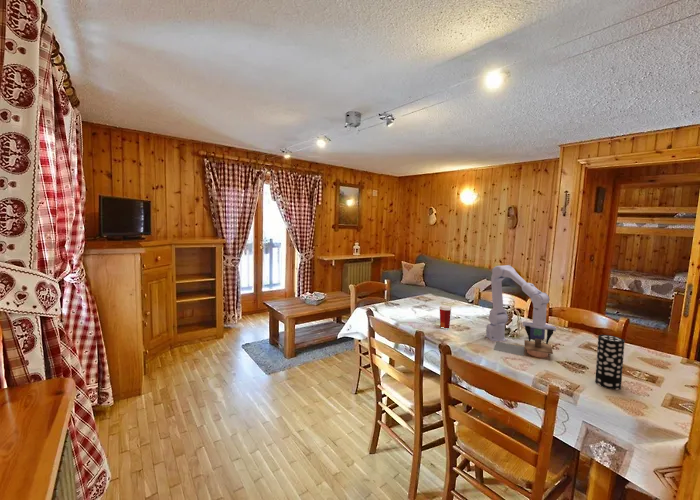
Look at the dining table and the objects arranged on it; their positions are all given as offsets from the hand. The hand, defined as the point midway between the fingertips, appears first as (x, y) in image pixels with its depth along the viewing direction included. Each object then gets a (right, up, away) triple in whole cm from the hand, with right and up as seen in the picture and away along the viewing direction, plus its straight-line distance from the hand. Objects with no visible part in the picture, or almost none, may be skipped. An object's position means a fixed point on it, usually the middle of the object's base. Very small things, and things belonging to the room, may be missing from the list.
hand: (538, 342), depth 157 cm
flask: (+13, -5, +23) cm, 27 cm away
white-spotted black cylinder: (+11, -9, -29) cm, 33 cm away
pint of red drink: (-35, -4, +42) cm, 55 cm away
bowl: (0, -7, 0) cm, 7 cm away
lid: (0, -3, 0) cm, 3 cm away
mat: (-11, -6, +7) cm, 15 cm away
